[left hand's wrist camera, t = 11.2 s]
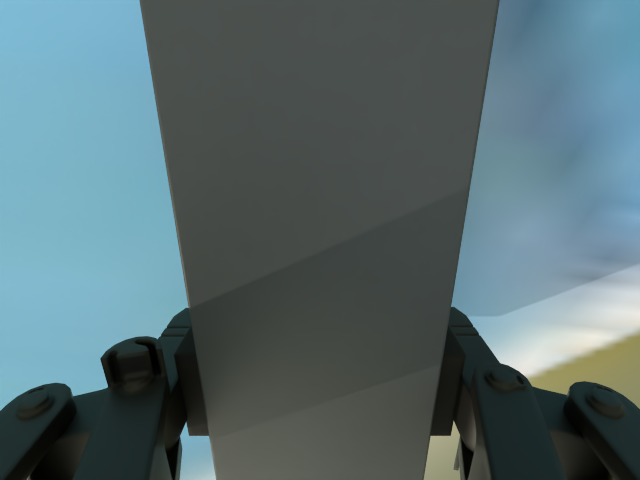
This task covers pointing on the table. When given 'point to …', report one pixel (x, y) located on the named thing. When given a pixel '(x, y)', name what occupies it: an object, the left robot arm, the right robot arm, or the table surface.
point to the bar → (319, 218)
